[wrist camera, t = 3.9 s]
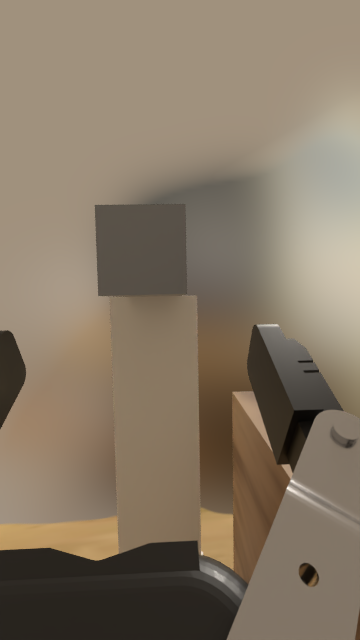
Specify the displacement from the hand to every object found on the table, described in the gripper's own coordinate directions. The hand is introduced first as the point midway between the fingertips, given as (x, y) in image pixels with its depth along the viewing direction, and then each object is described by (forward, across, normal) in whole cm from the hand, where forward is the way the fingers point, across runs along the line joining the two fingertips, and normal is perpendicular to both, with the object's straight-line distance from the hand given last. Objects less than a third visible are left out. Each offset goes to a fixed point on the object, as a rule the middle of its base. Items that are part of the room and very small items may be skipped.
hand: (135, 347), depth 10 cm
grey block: (+14, 0, +6) cm, 16 cm away
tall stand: (0, 0, +35) cm, 35 cm away
